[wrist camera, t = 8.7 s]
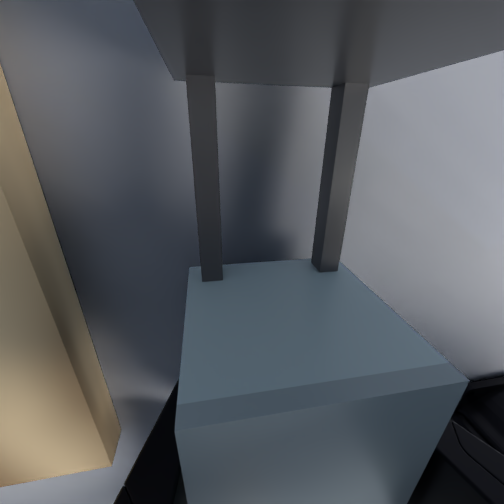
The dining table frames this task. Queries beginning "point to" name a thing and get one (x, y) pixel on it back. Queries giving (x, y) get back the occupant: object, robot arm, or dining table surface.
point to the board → (43, 336)
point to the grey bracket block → (306, 265)
